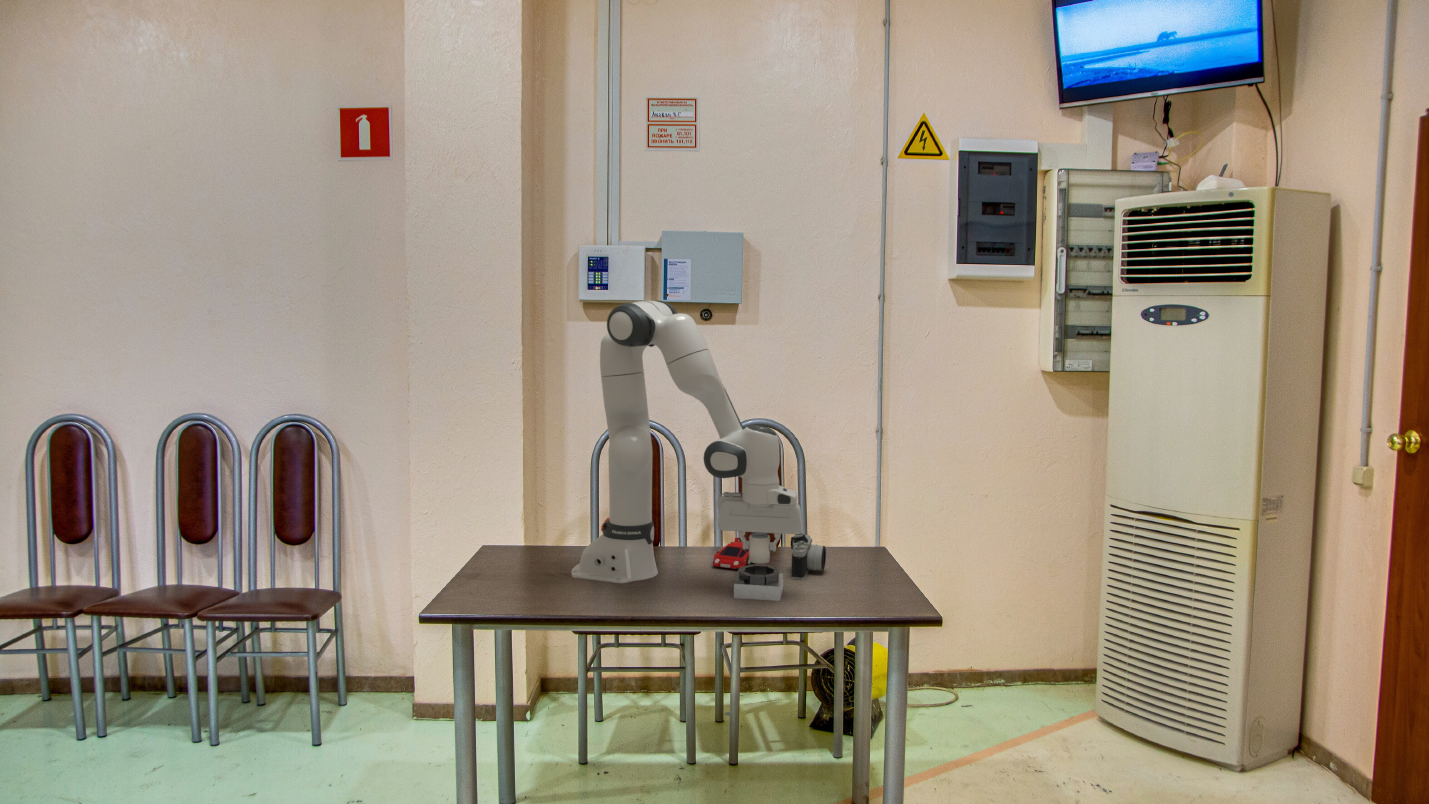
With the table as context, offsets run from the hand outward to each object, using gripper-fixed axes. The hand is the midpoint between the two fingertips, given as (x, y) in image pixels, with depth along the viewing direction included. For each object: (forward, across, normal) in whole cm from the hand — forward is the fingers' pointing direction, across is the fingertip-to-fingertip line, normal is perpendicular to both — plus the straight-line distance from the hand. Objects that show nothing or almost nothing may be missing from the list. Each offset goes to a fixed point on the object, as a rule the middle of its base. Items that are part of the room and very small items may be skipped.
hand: (759, 549), depth 189 cm
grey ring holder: (+11, 0, 0) cm, 11 cm away
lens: (+3, 0, 0) cm, 3 cm away
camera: (+11, +11, +20) cm, 25 cm away
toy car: (+12, -8, +27) cm, 31 cm away
